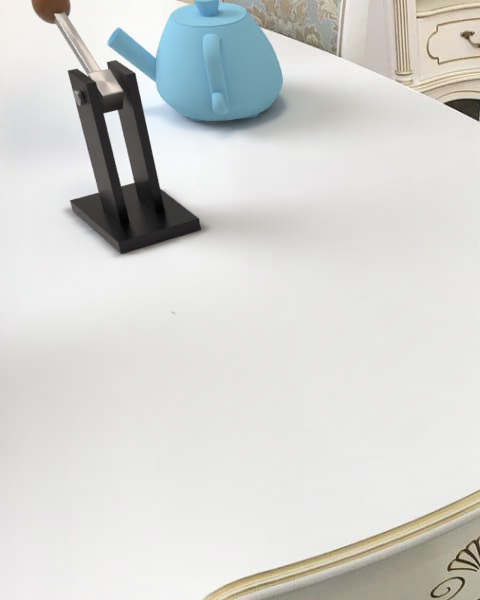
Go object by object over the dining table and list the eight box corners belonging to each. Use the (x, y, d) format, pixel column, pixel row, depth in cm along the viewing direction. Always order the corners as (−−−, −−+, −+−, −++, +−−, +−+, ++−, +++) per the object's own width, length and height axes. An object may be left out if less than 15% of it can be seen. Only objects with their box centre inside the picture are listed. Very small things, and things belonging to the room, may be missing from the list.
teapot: (291, 134, 133) (277, 19, 124) (120, 145, 130) (92, 28, 121) (281, 75, 147) (267, -33, 138) (125, 84, 144) (101, -25, 135)
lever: (25, 7, 110) (23, -24, 107) (60, 0, 112) (59, -30, 108) (95, 120, 109) (95, 92, 105) (130, 112, 110) (130, 84, 107)
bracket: (72, 211, 118) (31, 63, 108) (150, 189, 122) (118, 44, 112) (121, 253, 112) (82, 101, 101) (201, 229, 116) (172, 80, 105)
